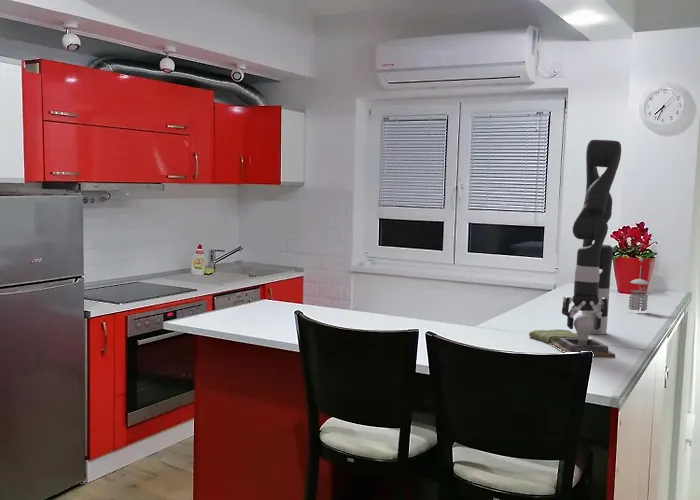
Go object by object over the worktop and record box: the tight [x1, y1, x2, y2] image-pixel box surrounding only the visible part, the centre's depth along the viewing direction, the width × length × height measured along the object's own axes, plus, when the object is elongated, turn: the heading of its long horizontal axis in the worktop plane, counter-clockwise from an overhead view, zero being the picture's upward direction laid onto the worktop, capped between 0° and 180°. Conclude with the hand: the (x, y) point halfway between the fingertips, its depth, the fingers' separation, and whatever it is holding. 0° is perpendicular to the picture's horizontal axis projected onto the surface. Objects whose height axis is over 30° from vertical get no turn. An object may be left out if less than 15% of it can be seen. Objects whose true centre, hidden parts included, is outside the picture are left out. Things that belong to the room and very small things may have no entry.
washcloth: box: [528, 329, 578, 344], centre depth 244 cm, size 13×18×3 cm
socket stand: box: [550, 338, 616, 358], centre depth 226 cm, size 16×15×3 cm
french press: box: [628, 257, 650, 311], centre depth 316 cm, size 10×12×25 cm
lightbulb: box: [573, 314, 594, 345], centre depth 226 cm, size 6×6×11 cm
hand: (583, 328), depth 226 cm, fingers open, 8 cm apart
